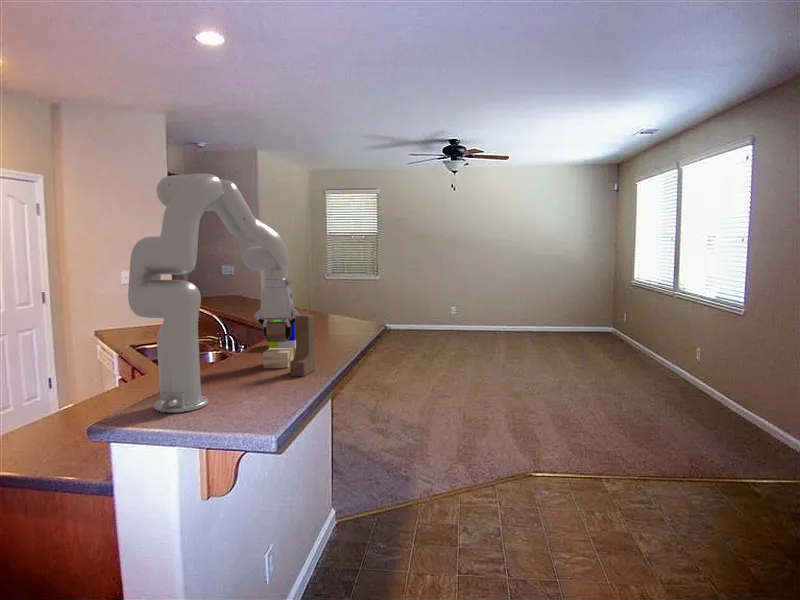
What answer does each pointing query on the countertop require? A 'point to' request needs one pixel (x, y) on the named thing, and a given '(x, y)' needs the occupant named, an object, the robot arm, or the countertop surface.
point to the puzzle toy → (290, 342)
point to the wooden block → (303, 346)
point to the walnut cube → (276, 331)
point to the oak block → (277, 357)
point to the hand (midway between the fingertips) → (278, 337)
